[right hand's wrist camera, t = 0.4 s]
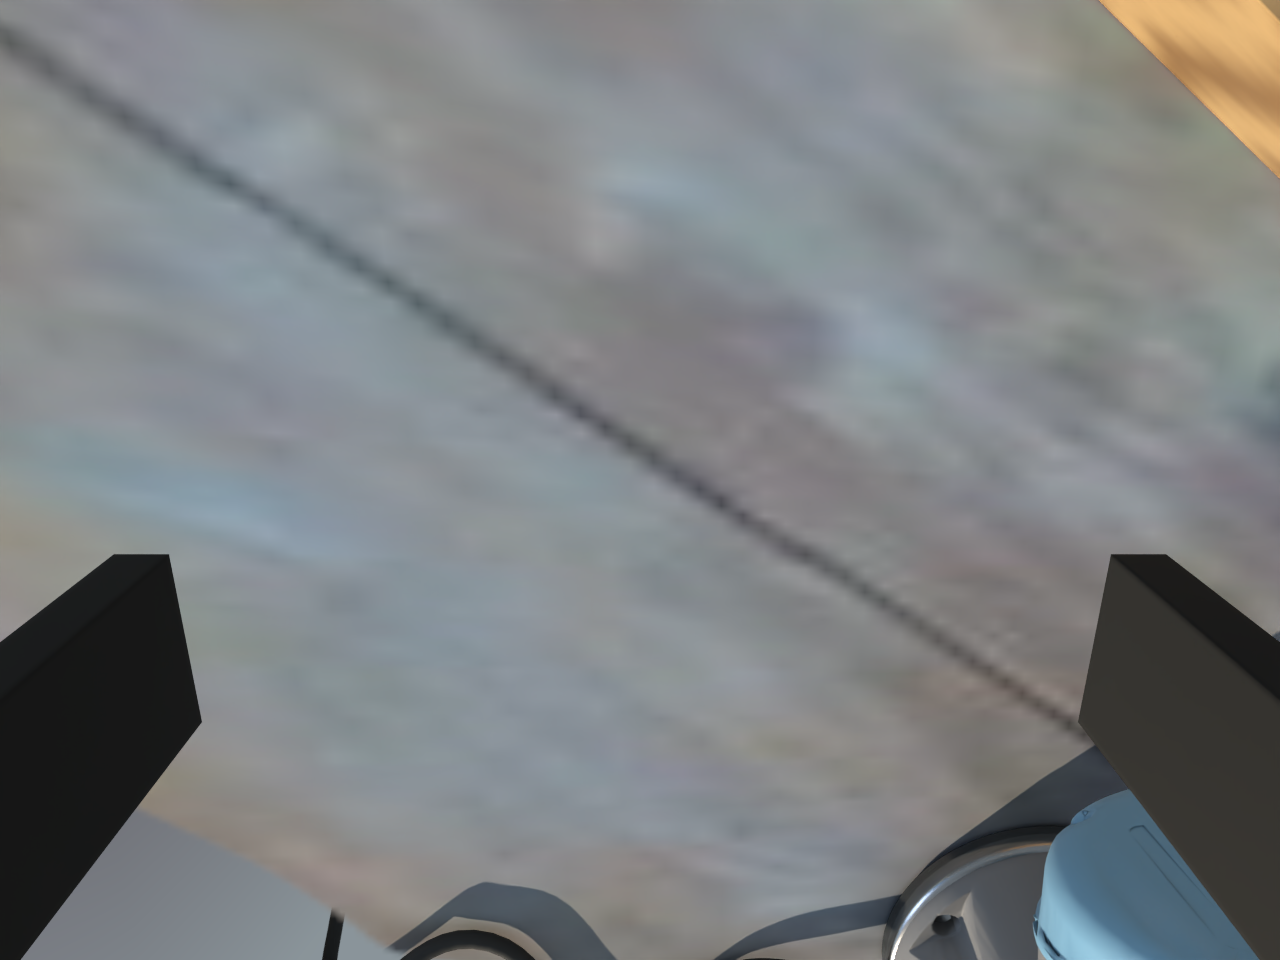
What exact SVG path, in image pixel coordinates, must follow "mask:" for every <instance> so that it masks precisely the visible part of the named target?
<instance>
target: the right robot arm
mask: <svg viewBox="0 0 1280 960" xmlns="http://www.w3.org/2000/svg"><path fill="white" fill-rule="evenodd" d="M201 722H202V720H201V715H200V710H199V705H198V700H197V695H196V690H195V685H194V680H193V674H192V669H191V664H190V659H189V654H188V649H187V644H186V639H185V634H184V629H183V624H182V619H181V614H180V608H179V603H178V598H177V593H176V588H175V583H174V578H173V573H172V568H171V563H170V558H169V554H114V555H112V556H111V557H110V558H109V559H107V560H106V561H105V562H103V563H102V564H101V565H100V566H98V567H97V568H96V569H94V570H93V571H92V572H91V573H89V574H88V575H87V576H85V577H84V578H83V579H81V580H80V581H79V582H78V583H76V584H75V585H74V586H72V587H71V588H70V589H69V590H67V591H66V592H65V593H63V594H62V595H61V596H59V597H58V598H57V599H56V600H54V601H53V602H52V603H50V604H49V605H48V606H47V607H45V608H44V609H43V610H41V611H40V612H39V613H37V614H36V615H35V616H34V617H32V618H31V619H30V620H28V621H27V622H26V623H25V624H23V625H22V626H21V627H19V628H18V629H17V630H16V631H14V632H13V633H12V634H10V635H9V636H8V637H6V638H5V639H4V640H3V641H1V642H0V960H21V958H22V957H23V956H24V955H25V953H26V952H27V951H28V949H29V948H30V947H31V945H32V944H33V943H34V941H35V940H36V939H37V938H38V936H39V935H40V934H41V932H42V931H43V930H44V928H45V927H46V926H47V924H48V923H49V922H50V920H51V919H52V918H53V917H54V915H55V914H56V913H57V911H58V910H59V909H60V907H61V906H62V905H63V903H64V902H65V901H66V899H67V898H68V897H69V896H70V894H71V893H72V892H73V890H74V889H75V888H76V886H77V885H78V884H79V882H80V881H81V880H82V879H83V877H84V876H85V875H86V873H87V872H88V871H89V869H90V868H91V867H92V865H93V864H94V863H95V861H96V860H97V859H98V857H99V856H100V855H101V854H102V852H103V851H104V850H105V848H106V847H107V846H108V844H109V843H110V842H111V840H112V839H113V838H114V836H115V835H116V834H117V833H118V831H119V830H120V829H121V827H122V826H123V825H124V823H125V822H126V821H127V820H128V818H129V817H130V816H131V814H132V813H133V812H134V810H135V809H136V808H137V806H138V805H139V804H140V802H141V801H142V800H143V799H144V797H145V796H146V795H147V793H148V792H149V791H150V789H151V788H152V787H153V785H154V784H155V783H156V781H157V780H158V779H159V778H160V776H161V775H162V774H163V772H164V771H165V770H166V768H167V767H168V766H169V764H170V763H171V762H172V761H173V759H174V758H175V757H176V755H177V754H178V753H179V751H180V750H181V749H182V747H183V746H184V745H185V743H186V742H187V741H188V740H189V738H190V737H191V736H192V734H193V733H194V732H195V730H196V729H197V728H198V726H199V725H200V724H201ZM1078 722H1079V724H1080V725H1081V726H1082V728H1083V729H1084V730H1085V732H1086V733H1087V734H1088V736H1089V737H1090V738H1091V740H1092V741H1093V742H1094V743H1095V745H1096V746H1097V747H1098V749H1099V750H1100V751H1101V753H1102V754H1103V755H1104V757H1105V758H1106V759H1107V761H1108V762H1109V763H1110V764H1111V766H1112V767H1113V768H1114V770H1115V771H1116V772H1117V774H1118V775H1119V776H1120V778H1121V779H1122V780H1123V781H1124V783H1125V784H1126V785H1127V787H1128V788H1129V789H1130V791H1131V792H1132V793H1133V795H1134V796H1135V797H1136V799H1137V800H1138V801H1139V802H1140V804H1141V805H1142V806H1143V808H1144V809H1145V810H1146V812H1147V813H1148V814H1149V816H1150V817H1151V818H1152V820H1153V821H1154V822H1155V823H1156V825H1157V826H1158V827H1159V829H1160V830H1161V831H1162V833H1163V834H1164V835H1165V837H1166V838H1167V839H1168V840H1169V842H1170V843H1171V844H1172V846H1173V847H1174V848H1175V850H1176V851H1177V852H1178V854H1179V855H1180V856H1181V858H1182V859H1183V860H1184V861H1185V863H1186V864H1187V865H1188V867H1189V868H1190V869H1191V871H1192V872H1193V873H1194V875H1195V876H1196V877H1197V879H1198V880H1199V881H1200V882H1201V884H1202V885H1203V886H1204V888H1205V889H1206V890H1207V892H1208V893H1209V894H1210V896H1211V897H1212V898H1213V899H1214V901H1215V902H1216V903H1217V905H1218V906H1219V907H1220V909H1221V910H1222V911H1223V913H1224V914H1225V915H1226V917H1227V918H1228V919H1229V920H1230V922H1231V923H1232V924H1233V926H1234V927H1235V928H1236V930H1237V931H1238V932H1239V934H1240V935H1241V936H1242V938H1243V939H1244V940H1245V941H1246V943H1247V944H1248V945H1249V947H1250V948H1251V949H1252V951H1253V952H1254V953H1255V955H1256V956H1257V957H1258V958H1259V960H1280V642H1279V641H1277V640H1276V639H1275V638H1274V637H1272V636H1271V635H1270V634H1268V633H1267V632H1266V631H1264V630H1263V629H1262V628H1261V627H1259V626H1258V625H1257V624H1255V623H1254V622H1253V621H1252V620H1250V619H1249V618H1248V617H1246V616H1245V615H1244V614H1243V613H1241V612H1240V611H1239V610H1237V609H1236V608H1235V607H1233V606H1232V605H1231V604H1230V603H1228V602H1227V601H1226V600H1224V599H1223V598H1222V597H1221V596H1219V595H1218V594H1217V593H1215V592H1214V591H1213V590H1211V589H1210V588H1209V587H1208V586H1206V585H1205V584H1204V583H1202V582H1201V581H1200V580H1199V579H1197V578H1196V577H1195V576H1193V575H1192V574H1191V573H1189V572H1188V571H1187V570H1186V569H1184V568H1183V567H1182V566H1180V565H1179V564H1178V563H1177V562H1175V561H1174V560H1173V559H1171V558H1170V557H1169V556H1168V555H1166V554H1111V558H1110V563H1109V568H1108V573H1107V578H1106V583H1105V588H1104V593H1103V598H1102V603H1101V608H1100V614H1099V619H1098V624H1097V629H1096V634H1095V639H1094V644H1093V649H1092V654H1091V659H1090V664H1089V669H1088V674H1087V680H1086V685H1085V690H1084V695H1083V700H1082V705H1081V710H1080V715H1079V720H1078Z"/></svg>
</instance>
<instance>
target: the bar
mask: <svg viewBox="0 0 1280 960" xmlns="http://www.w3.org/2000/svg"><path fill="white" fill-rule="evenodd" d="M1099 1H1100V2H1101V3H1102V4H1103V5H1104V6H1105V7H1106V8H1107V9H1108V10H1109V11H1110V12H1111V13H1112V14H1113V15H1114V16H1115V17H1116V18H1117V19H1118V20H1119V21H1120V22H1121V23H1122V24H1123V25H1124V26H1125V27H1126V28H1127V29H1128V30H1129V31H1130V32H1131V33H1132V34H1133V35H1134V36H1135V37H1136V38H1137V39H1138V40H1139V41H1140V42H1141V43H1143V44H1144V45H1145V46H1146V47H1147V48H1148V49H1149V50H1150V51H1151V52H1152V53H1153V54H1154V55H1155V56H1156V57H1157V58H1158V59H1159V60H1160V61H1161V62H1162V63H1163V64H1164V65H1165V66H1166V67H1167V68H1168V69H1169V70H1170V71H1171V72H1172V73H1173V74H1174V75H1175V76H1176V77H1177V78H1178V79H1179V80H1180V81H1181V82H1182V83H1183V84H1184V85H1185V86H1186V87H1187V88H1188V89H1189V90H1190V91H1191V92H1192V93H1193V94H1194V95H1195V96H1196V97H1197V98H1198V99H1199V100H1200V101H1201V102H1202V103H1203V104H1204V105H1205V106H1206V107H1207V108H1209V109H1210V110H1211V111H1212V112H1213V113H1214V114H1215V115H1216V116H1217V117H1218V118H1219V119H1220V120H1221V121H1222V122H1223V123H1224V124H1225V125H1226V126H1227V127H1228V128H1229V129H1230V130H1231V131H1232V132H1233V133H1234V134H1235V135H1236V136H1237V137H1238V138H1239V139H1240V140H1241V141H1242V142H1243V143H1244V144H1245V145H1246V146H1247V147H1248V148H1249V149H1250V150H1251V151H1252V152H1253V153H1254V154H1255V155H1256V156H1257V157H1258V158H1259V159H1260V160H1261V161H1262V162H1263V163H1264V164H1265V165H1266V166H1267V167H1268V168H1269V169H1270V170H1271V171H1272V172H1273V173H1275V174H1276V175H1277V176H1278V177H1279V178H1280V0H1099Z"/></svg>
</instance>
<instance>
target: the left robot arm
mask: <svg viewBox="0 0 1280 960" xmlns="http://www.w3.org/2000/svg"><path fill="white" fill-rule="evenodd" d="M343 923H344V918H343V917H341V916H339V915H338V914H337V913H336V912H334V911H332V910H331V914H330V919H329V925H328V930H327V935H326V940H325V945H324V951H323V957H322V960H337V958H338V951H339V946H340V940H341V934H342V929H343ZM457 949H477V950H483V951H488V952H491V953H493V954H496V955H498V956H501V957H503V958H504V959H506V960H535V959H534V958H533V957H532V956H531V955H530V954H529V953H527V952H526V951H525V950H524V949H523V948H522V947H520V946H519V945H517V944H515V943H514V942H512V941H511V940H509V939H507V938H504V937H502V936H499V935H497V934H494V933H490V932H484V931H478V930H458V931H453V932H449V933H445V934H442V935H439V936H437V937H435V938H433V939H430V940H428V941H426V942H425V943H423V944H421V945H420V946H418V947H417V948H415V949H414V950H412V951H411V952H410V953H408V954H407V955H406V956H404V957H403V958H402V959H401V960H430V959H432V958H434V957H436V956H438V955H441V954H443V953H445V952H449V951H453V950H457ZM745 960H783V959H770V958H755V959H745ZM882 960H1259V958H1258V957H1257V956H1256V955H1255V953H1254V952H1253V951H1252V949H1251V948H1250V947H1249V945H1248V944H1247V943H1246V941H1245V940H1244V939H1243V938H1242V936H1241V935H1240V934H1239V932H1238V931H1237V930H1236V928H1235V927H1234V926H1233V924H1232V923H1231V922H1230V920H1229V919H1228V918H1227V917H1226V915H1225V914H1224V913H1223V911H1222V910H1221V909H1220V907H1219V906H1218V905H1217V903H1216V902H1215V901H1214V899H1213V898H1212V897H1211V896H1210V894H1209V893H1208V892H1207V890H1206V889H1205V888H1204V886H1203V885H1202V884H1201V882H1200V881H1199V880H1198V879H1197V877H1196V876H1195V875H1194V873H1193V872H1192V871H1191V869H1190V868H1189V867H1188V865H1187V864H1186V863H1185V861H1184V860H1183V859H1182V858H1181V856H1180V855H1179V854H1178V852H1177V851H1176V850H1175V848H1174V847H1173V846H1172V844H1171V843H1170V842H1169V840H1168V839H1167V838H1166V837H1165V835H1164V834H1163V833H1162V831H1161V830H1160V829H1159V827H1158V826H1157V825H1156V823H1155V822H1154V821H1153V820H1152V818H1151V817H1150V816H1149V814H1148V813H1147V812H1146V810H1145V809H1144V808H1143V806H1142V805H1141V804H1140V802H1139V801H1138V800H1137V799H1136V797H1135V796H1134V795H1133V793H1132V792H1131V791H1130V789H1127V790H1124V791H1121V792H1118V793H1115V794H1112V795H1109V796H1107V797H1104V798H1102V799H1100V800H1098V801H1096V802H1094V803H1092V804H1090V805H1089V806H1087V807H1085V808H1084V809H1083V810H1081V811H1080V812H1078V813H1077V814H1076V815H1075V816H1074V817H1073V819H1072V821H1071V824H1070V825H1069V826H1067V827H1057V826H1037V827H1026V828H1018V829H1012V830H1007V831H1002V832H999V833H995V834H991V835H988V836H985V837H982V838H979V839H977V840H974V841H972V842H969V843H967V844H965V845H963V846H961V847H959V848H957V849H955V850H953V851H951V852H949V853H948V854H946V855H945V856H943V857H942V858H940V859H938V860H937V861H936V862H934V863H933V864H932V865H930V866H929V867H928V868H926V869H925V870H924V871H923V872H922V873H921V874H920V875H919V876H918V877H916V878H915V880H914V881H913V882H912V883H911V884H910V885H909V886H908V887H907V888H906V890H905V891H904V892H903V894H902V895H901V897H900V898H899V899H898V901H897V903H896V905H895V906H894V908H893V910H892V912H891V914H890V916H889V919H888V921H887V925H886V928H885V931H884V936H883V942H882Z"/></svg>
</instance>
